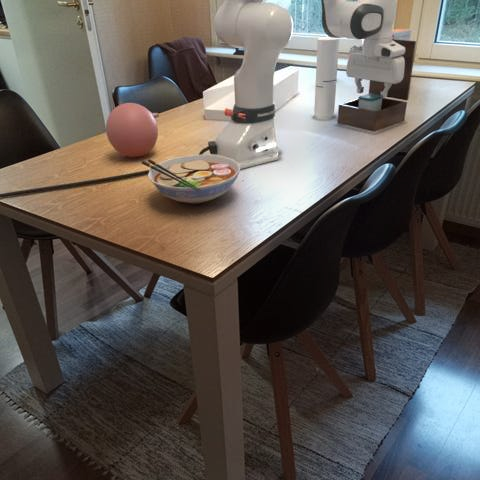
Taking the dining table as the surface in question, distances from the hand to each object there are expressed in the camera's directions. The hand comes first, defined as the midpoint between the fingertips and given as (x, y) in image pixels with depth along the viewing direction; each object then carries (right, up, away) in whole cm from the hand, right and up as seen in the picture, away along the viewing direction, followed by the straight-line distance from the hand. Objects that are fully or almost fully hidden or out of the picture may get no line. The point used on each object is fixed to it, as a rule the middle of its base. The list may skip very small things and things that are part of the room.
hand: (371, 94), depth 161 cm
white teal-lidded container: (0, -7, +5) cm, 9 cm away
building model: (-38, +11, +34) cm, 52 cm away
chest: (+1, -7, +6) cm, 10 cm away
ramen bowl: (-55, -44, -37) cm, 79 cm away
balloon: (-75, -22, -7) cm, 78 cm away
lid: (+6, +9, +1) cm, 11 cm away
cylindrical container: (-13, -1, +16) cm, 21 cm away
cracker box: (+20, +27, +50) cm, 60 cm away
